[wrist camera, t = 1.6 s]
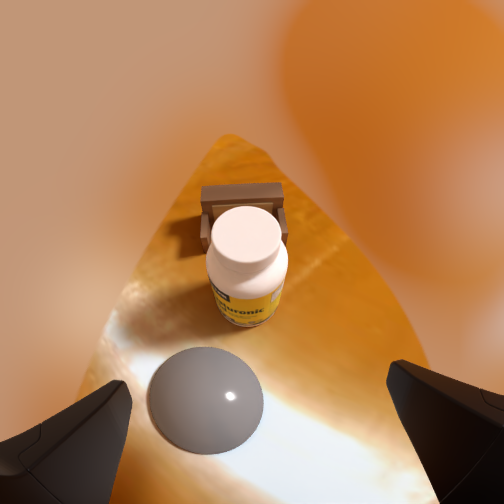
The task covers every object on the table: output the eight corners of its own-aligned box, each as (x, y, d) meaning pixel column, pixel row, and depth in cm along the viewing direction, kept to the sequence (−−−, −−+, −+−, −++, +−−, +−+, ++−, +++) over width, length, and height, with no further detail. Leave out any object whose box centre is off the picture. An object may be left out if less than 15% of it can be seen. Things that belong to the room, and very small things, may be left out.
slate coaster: (215, 473, 15) (215, 475, 15) (131, 401, 18) (129, 401, 18) (286, 391, 19) (286, 391, 19) (198, 327, 22) (197, 325, 22)
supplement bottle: (205, 312, 23) (179, 249, 15) (234, 263, 25) (227, 185, 17) (262, 339, 22) (270, 289, 13) (288, 286, 24) (307, 214, 16)
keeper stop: (285, 248, 26) (290, 222, 23) (204, 252, 26) (197, 227, 23) (278, 209, 29) (282, 182, 26) (206, 213, 29) (200, 186, 25)
